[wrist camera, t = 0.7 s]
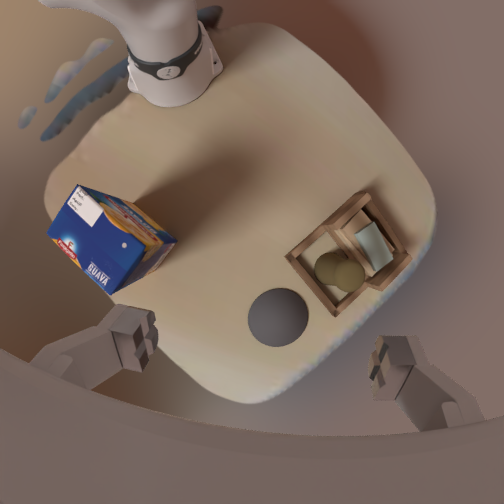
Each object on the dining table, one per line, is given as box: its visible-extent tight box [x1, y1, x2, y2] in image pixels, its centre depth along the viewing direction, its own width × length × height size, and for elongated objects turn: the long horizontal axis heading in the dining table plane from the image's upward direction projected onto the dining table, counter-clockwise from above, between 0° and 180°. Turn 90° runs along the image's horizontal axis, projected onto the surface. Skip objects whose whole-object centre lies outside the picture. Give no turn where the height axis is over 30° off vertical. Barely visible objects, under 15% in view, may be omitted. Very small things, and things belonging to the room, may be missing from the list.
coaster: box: [248, 289, 308, 347], centre depth 54 cm, size 11×11×1 cm
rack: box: [284, 191, 412, 317], centre depth 51 cm, size 18×15×7 cm
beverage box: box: [47, 184, 177, 295], centre depth 40 cm, size 7×11×22 cm, turn 51°
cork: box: [314, 253, 366, 292], centre depth 49 cm, size 6×6×11 cm
